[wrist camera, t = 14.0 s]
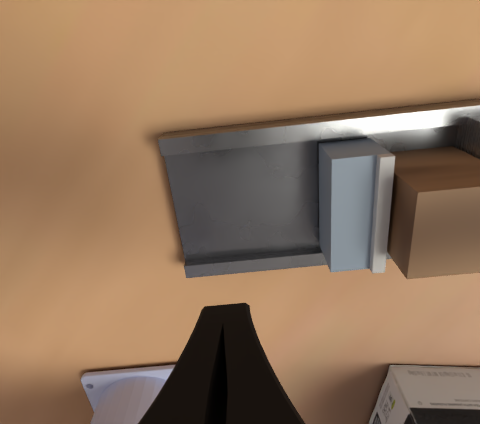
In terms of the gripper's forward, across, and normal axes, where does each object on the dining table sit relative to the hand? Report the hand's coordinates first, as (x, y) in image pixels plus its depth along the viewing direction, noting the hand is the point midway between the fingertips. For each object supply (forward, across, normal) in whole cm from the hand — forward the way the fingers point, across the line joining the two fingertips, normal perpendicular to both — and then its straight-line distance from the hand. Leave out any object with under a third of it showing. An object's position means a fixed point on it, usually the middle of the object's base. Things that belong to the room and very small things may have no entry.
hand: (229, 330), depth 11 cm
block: (+9, -9, 0) cm, 13 cm away
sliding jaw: (+9, -6, 0) cm, 11 cm away
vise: (+10, -6, 0) cm, 11 cm away
